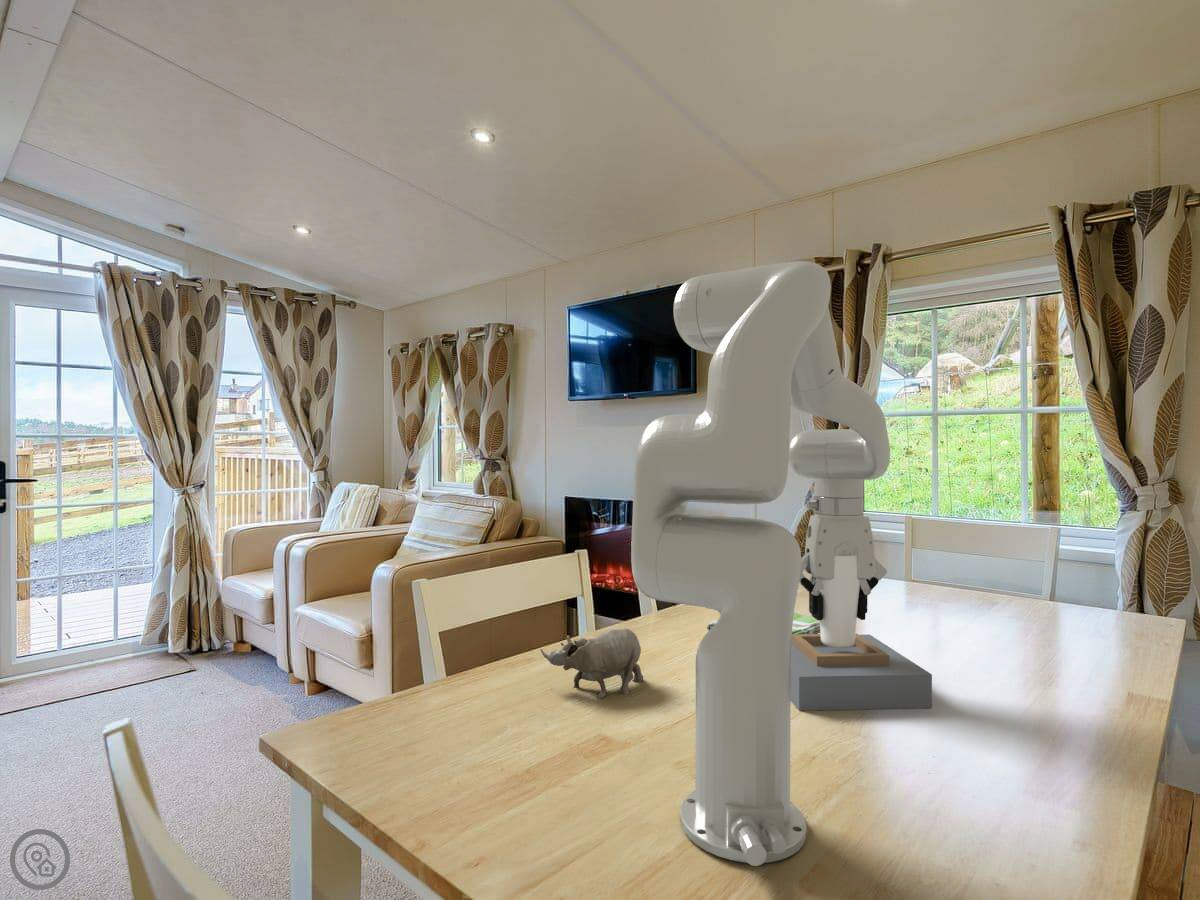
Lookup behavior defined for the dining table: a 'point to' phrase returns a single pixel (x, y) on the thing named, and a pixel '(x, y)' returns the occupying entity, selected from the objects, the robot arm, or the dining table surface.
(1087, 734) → the dining table surface
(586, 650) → the rhinoceros figurine
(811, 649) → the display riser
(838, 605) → the white tapered cylinder
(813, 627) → the dish towel
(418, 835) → the dining table surface
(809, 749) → the dining table surface
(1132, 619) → the dining table surface
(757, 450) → the robot arm
